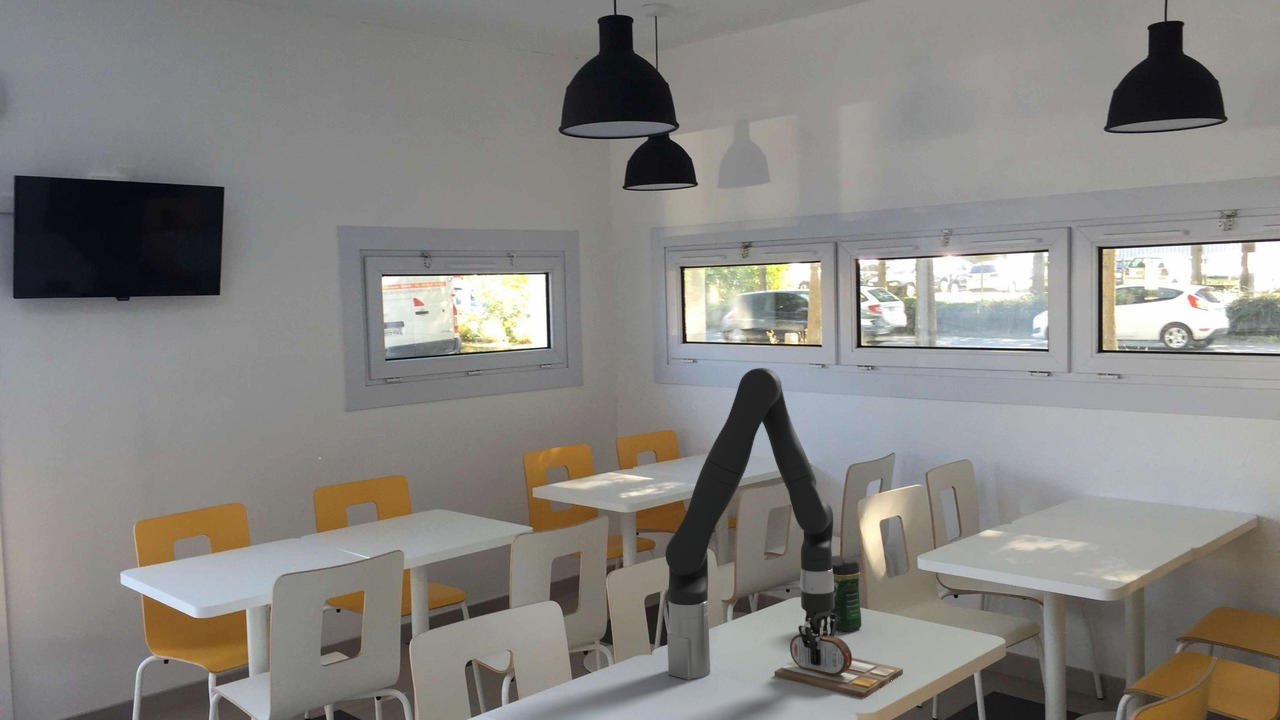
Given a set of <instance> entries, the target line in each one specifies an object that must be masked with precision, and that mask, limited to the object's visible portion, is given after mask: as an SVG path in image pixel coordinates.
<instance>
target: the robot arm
mask: <svg viewBox="0 0 1280 720" xmlns="http://www.w3.org/2000/svg"><path fill="white" fill-rule="evenodd" d="M782 387H783V386H782V382H781V379H780V377H779V375H778V374H777V373H775V372H774V371H773V370H771V369H769V368H766V367H760V368H759V367H757V368H753V369H750V370H749V371H747V372H746V373H744V375H742V378H741V379H740V380H739V384H738V388H737V390H736V393H735V396H734V400H733V403H732V406H731V408H730V412H729V414H728V417H727V418H726V420H725V422H724V425H723V426H722V428H721V430H720V431H719V434H718V435H717V437H716V438H715V440H714V442H713V445H712V446H711V449H710V450H709V452H708V455H707V457H706V459H705V460H704V464H702V468H701V469H700V472H699V475H698V478H697V481H696V483H695V486H694V489H693V492H692V495H691V497H690V502H689V505H688V508H687V510H686V513H685V515H684V517H683V519H682V521H681V523H680V525H679V527H677V530H676V532H675V533H674V534H673V535H671V538H670V539H669V542H668V544H667V545H666V548H665V561H666V564H667V566H668V573H669V575H668V589H667V597H668V619H669V620H668V624H669V626H668V628H669V634H667V636H666V637H667V666H668V667H667V668H668V675H669V676H673V677H677V678H680V679H683V680H688V681H690V680H692V679H700V678H703V677H706V676H708V675H709V674H710V673H711V658H710V656H711V652H710V651H711V650H710V649H711V648H710V627H709V626H710V625H709V624H710V623H709V621H710V620H709V598H708V597H709V596H708V595H709V593H708V591H709V564H708V563H709V560H708V559H709V558H708V547H709V545H710V542H711V539H712V536H713V533H714V530H715V529H716V526H717V524H718V522H719V520H720V519H721V517H722V515H723V514H724V512H725V510H726V509H727V507H728V505H729V503H730V502H731V500H732V499H733V497H734V495H735V493H736V491H737V489H738V487H739V485H740V483H741V481H742V479H743V476H744V474H745V471H746V469H747V467H748V463H749V460H750V457H751V453H752V449H753V445H754V441H755V438H756V434H757V432H758V431H759V427H761V424H763V427H764V429H765V432H766V434H767V437H768V440H769V443H770V447H771V451H772V453H773V457H774V460H775V463H776V466H777V469H778V471H779V473H780V476H781V479H782V481H783V483H784V485H785V488H786V489H787V493H788V495H789V496H788V497H789V500H790V504H791V507H792V508H791V509H792V512H793V514H794V518H795V520H796V522H797V524H798V526H799V527H800V528H801V530H802V532H803V541H802V543H801V548H800V577H799V578H800V580H799V581H800V605H801V608H802V610H804V611H805V618H804V619H805V620H804V622H805V623H804V624H803V625H801V624H800V625H799V626H798V632H799V633H800V635H801V638H802V641H803V644H804V647H806V648H810V656H811V657H810V659H811V664H812V665H816V666H819V665H820V664H821V655H820V640H821V639H822V638H823V635H828V636H833V637H835V632H836V629H835V628H836V622H837V617H838V616H837V614H833V613H831V610H833V609H834V607H835V602H834V576H833V570H832V556H833V552H832V541H833V531H834V530H833V529H834V512H833V510H832V507H831V505H830V503H828V502H827V500H825V499H822V498H820V495H819V492H818V490H817V479H816V476H815V473H814V471H813V469H812V465H811V463H810V461H809V459H808V457H807V454H806V452H805V450H804V448H803V446H802V444H801V441H800V439H799V437H798V435H797V432H796V430H795V427H794V425H793V422H792V420H791V417H790V414H789V412H788V408H787V404H786V400H785V396H784V391H783V388H782ZM812 633H816V634H818V635H816V634H812ZM814 639H816V644H815V641H814Z"/></svg>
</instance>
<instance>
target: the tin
mask: <svg viewBox="0 0 1280 720" xmlns="http://www.w3.org/2000/svg"><path fill="white" fill-rule="evenodd" d="M812 634H816V633H812ZM816 635H818V634H816ZM814 641H815V644H816V639H814ZM789 652H790V657H791V658H792V660H793V661H794V662H795V663H796V664H797V665H798V666H800V667H801V668H803V669H807V670H811V671H816V672H820V673H824V674H828V675H833V676H836V675H840V674H842V673H844V672H846V671H847V670H848V669H849V668H850V666H851V663H852V658H853V657H852V652H851V649H850V647H849V646H848V644H847V643H846V642H845V641H844V640H842V639H841V638H839V637H837V636H834V637H833V636H828V635H823V638H822V639H821V640H820V655H821V664H820V665H819V666H816V665H812V664H811V659H810V657H811V656H810V648H806V647H804V644H803V641H802V638H801V635H800V632H799V633H798V634H796V635H795V636H794V637H792V638H791V641H790V644H789Z"/></svg>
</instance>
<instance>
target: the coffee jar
mask: <svg viewBox="0 0 1280 720" xmlns="http://www.w3.org/2000/svg"><path fill="white" fill-rule="evenodd" d="M832 570H833V576H834V602H835V607H834V609H833V610H831V613H833V614H837V616H838V617H837V622H836V628H835V631H836V630H837V631H840V632H843V631H845V632H846V631H847V632H848V631H849V632H854V631H856V630H858V629H860V628H861V627H862V611H861V601H860V587H859V586H860V585H859V584H860V577H861V571H860V570H861V568H860V563H859V562H858V561H857V560H855V559H851V558H847V557H844V556H840V555H838V554H837V555H832Z"/></svg>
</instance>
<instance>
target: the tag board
mask: <svg viewBox="0 0 1280 720" xmlns="http://www.w3.org/2000/svg"><path fill="white" fill-rule="evenodd" d="M903 669H904V668H901V667H897V666H892V665H887V664H882V663H878V662H874V661H868V660H863V659H860V658H854V657H852V663H851V666H850V668H849V669H848V670H847V671H846V672H844V673H842V674H840V675H836V676H833V675H828V674H824V673H820V672H816V671H811V670H807V669H803V668H801V667H800V666H798V665H797V664H796V663H795V662H794V660H793V661H791V662H790V663H788V664H786V665H784V666H782V667H779V668H778V669H776V670H774V677H776V678H780V679H783V680H789V681H792V682H797V683H801V684H805V685H809V686H814V687H817V688H820V689H821V688H822V689H826V690H828V691H829V690H830V691H833V692H837V693H842V694H846V695H851V696H853V697H854V696H855V697H857V698H863V699H865V698H867V697H869V696H871V695H872V694H873V693H875V692H876V691H878V690H880V689H881V688H883V687H885V686H886V685H888V684H889V683H891V682H892V681H894V680H895V678H896V677H897V678H899V677H900V676H902V675H903V674H904V670H903ZM901 674H902V675H901ZM899 675H900V676H899ZM898 676H899V677H898ZM897 678H896V679H897ZM893 679H894V680H893ZM891 680H892V681H891ZM890 681H891V682H890ZM888 682H889V683H888ZM887 683H888V684H887ZM885 684H886V685H885ZM882 686H883V687H882ZM880 687H881V688H880ZM879 688H880V689H879Z"/></svg>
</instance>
